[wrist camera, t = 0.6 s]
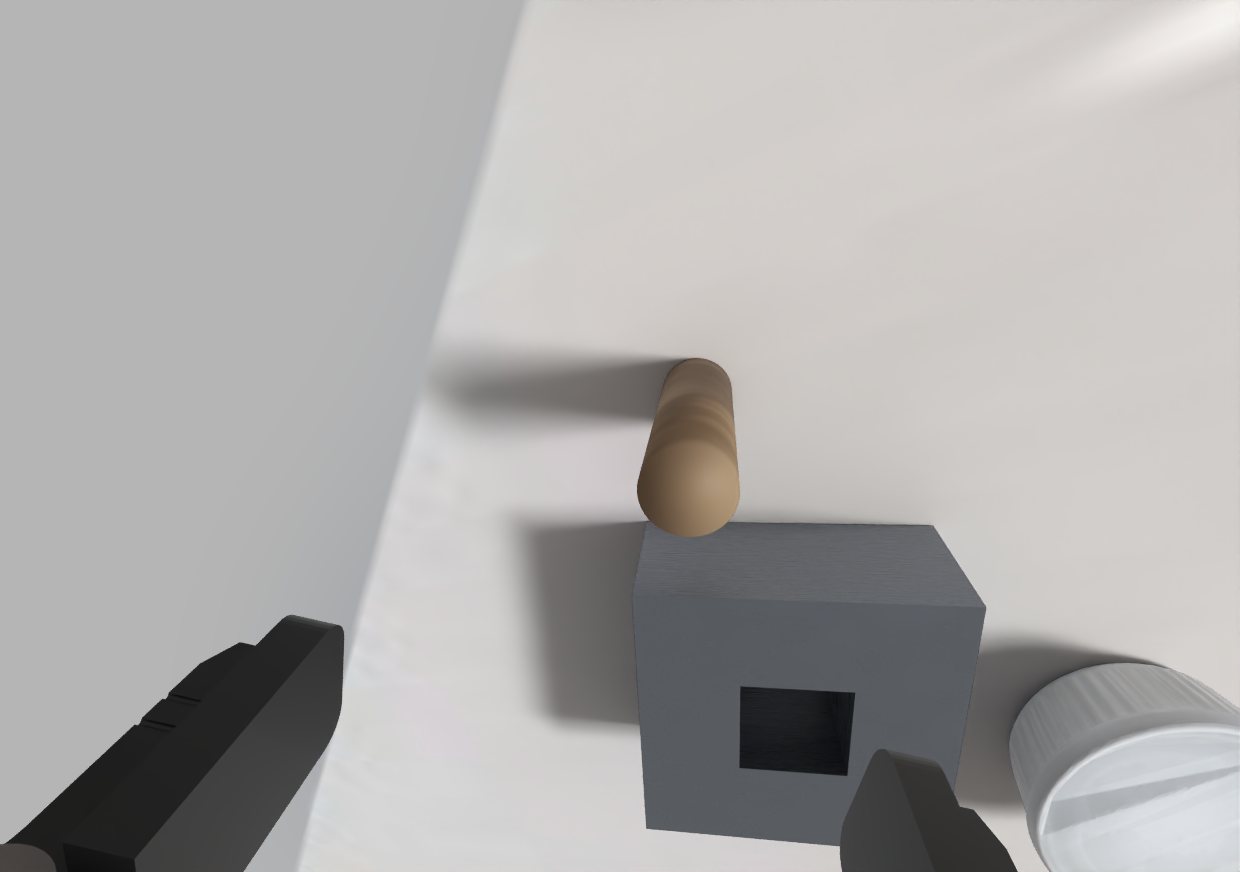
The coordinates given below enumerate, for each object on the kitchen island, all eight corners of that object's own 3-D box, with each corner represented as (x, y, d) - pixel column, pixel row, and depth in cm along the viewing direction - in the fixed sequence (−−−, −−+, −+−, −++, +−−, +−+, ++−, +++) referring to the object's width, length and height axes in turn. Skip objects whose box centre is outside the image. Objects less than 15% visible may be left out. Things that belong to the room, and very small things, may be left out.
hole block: (933, 525, 28) (986, 607, 23) (904, 743, 33) (942, 855, 27) (647, 521, 30) (631, 595, 25) (657, 727, 35) (646, 828, 29)
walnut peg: (731, 357, 27) (740, 444, 18) (731, 423, 28) (739, 537, 19) (662, 359, 27) (634, 445, 18) (664, 423, 28) (639, 536, 19)
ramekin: (1079, 604, 29) (1153, 688, 24) (1299, 698, 29) (1416, 800, 24) (942, 761, 33) (981, 859, 28) (1133, 842, 33) (1205, 953, 28)
